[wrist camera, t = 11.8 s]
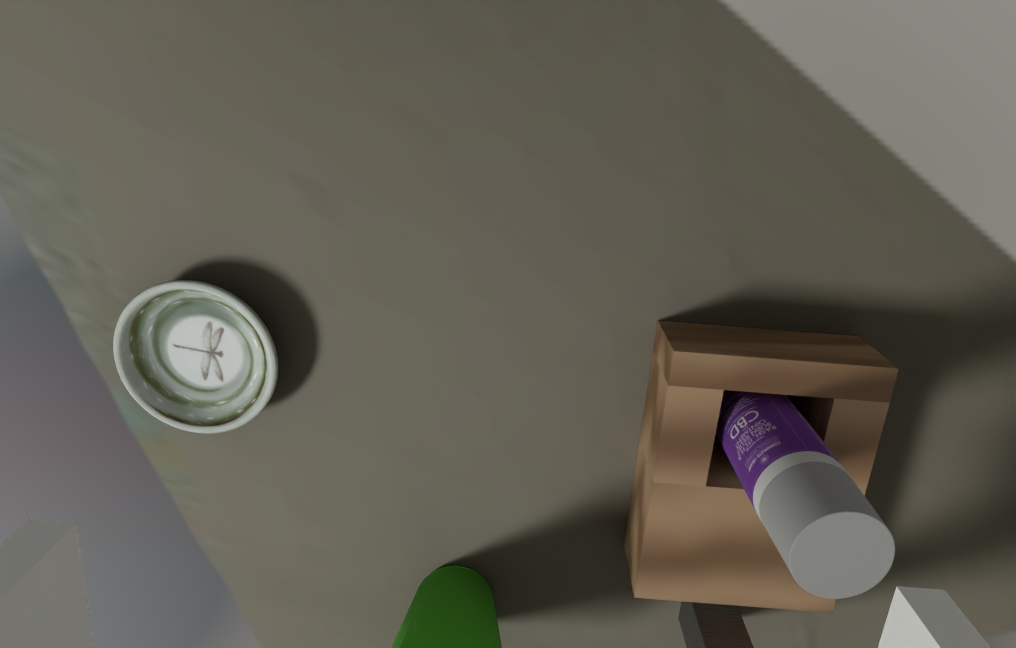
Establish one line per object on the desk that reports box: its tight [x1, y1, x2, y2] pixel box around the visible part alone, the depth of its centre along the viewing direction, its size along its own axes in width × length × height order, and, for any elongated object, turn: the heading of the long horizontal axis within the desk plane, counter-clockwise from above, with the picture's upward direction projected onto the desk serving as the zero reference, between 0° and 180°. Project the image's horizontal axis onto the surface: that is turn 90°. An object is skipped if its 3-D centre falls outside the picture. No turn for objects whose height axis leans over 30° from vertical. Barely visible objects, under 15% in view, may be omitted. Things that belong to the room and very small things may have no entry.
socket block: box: [624, 321, 899, 613], centre depth 44 cm, size 16×12×5 cm
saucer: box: [113, 280, 278, 433], centre depth 44 cm, size 10×10×2 cm
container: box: [716, 390, 895, 599], centre depth 38 cm, size 5×5×15 cm
